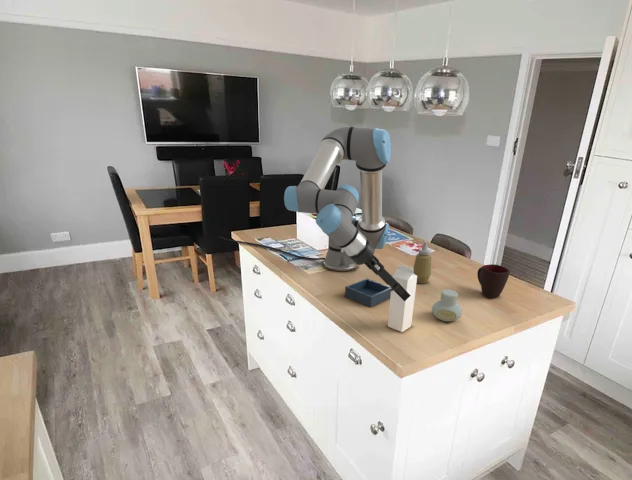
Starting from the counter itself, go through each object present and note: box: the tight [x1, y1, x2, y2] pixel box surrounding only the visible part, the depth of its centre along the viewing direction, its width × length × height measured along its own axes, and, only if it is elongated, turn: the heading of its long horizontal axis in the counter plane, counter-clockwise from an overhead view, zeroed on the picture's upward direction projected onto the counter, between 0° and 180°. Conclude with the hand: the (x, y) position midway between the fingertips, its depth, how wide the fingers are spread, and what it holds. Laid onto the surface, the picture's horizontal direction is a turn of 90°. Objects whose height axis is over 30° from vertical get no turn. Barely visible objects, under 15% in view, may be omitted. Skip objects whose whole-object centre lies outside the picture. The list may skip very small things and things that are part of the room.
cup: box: [476, 264, 511, 299], centre depth 173 cm, size 10×14×12 cm
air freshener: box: [431, 289, 463, 322], centre depth 150 cm, size 11×8×10 cm
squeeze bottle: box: [412, 241, 432, 284], centre depth 179 cm, size 8×8×18 cm
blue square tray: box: [344, 278, 391, 308], centre depth 163 cm, size 13×13×4 cm
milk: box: [387, 264, 417, 333], centre depth 139 cm, size 6×6×22 cm
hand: (398, 289), depth 137 cm, fingers open, 13 cm apart
